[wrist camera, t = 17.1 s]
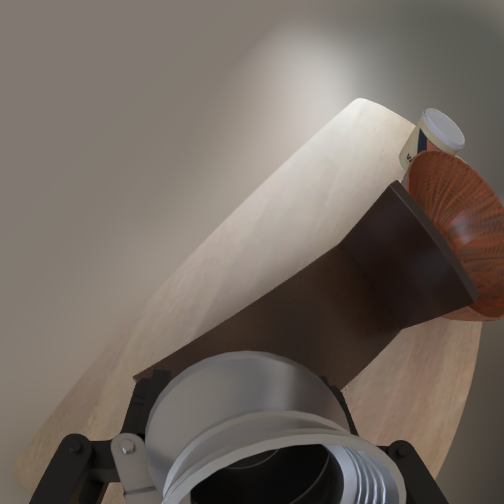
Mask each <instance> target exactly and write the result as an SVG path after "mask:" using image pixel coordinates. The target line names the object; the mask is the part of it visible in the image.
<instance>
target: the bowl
mask: <svg viewBox="0 0 504 504" xmlns="http://www.w3.org/2000/svg"><path fill="white" fill-rule="evenodd" d="M401 185H402V186H403V187H404V188H405V189H406V190H407V192H408V193H409V194H410V195H411V196H412V198H413V199H414V200H415V201H416V202H417V204H418V205H419V206H420V207H421V209H422V210H423V211H424V212H425V214H426V215H427V216H428V217H429V219H430V220H431V221H432V223H433V224H434V225H435V227H436V228H437V229H438V231H439V232H440V233H441V235H442V236H443V238H444V239H445V240H446V242H447V243H448V245H449V246H450V248H451V249H452V250H453V252H454V253H455V255H456V256H457V258H458V259H459V261H460V263H461V264H462V266H463V267H464V269H465V270H466V272H467V274H468V275H469V277H470V279H471V280H472V282H473V284H474V285H475V287H476V289H477V290H478V292H479V296H478V297H477V299H476V301H475V303H473V304H471V305H469V306H466V307H464V308H461V309H458V310H456V311H453V312H451V313H448V314H445V315H443V316H440V317H443V318H446V319H451V320H461V321H494V320H500V319H501V318H503V317H504V207H503V206H502V204H501V202H500V200H499V199H498V197H497V196H496V195H495V193H494V192H493V190H492V189H491V188H490V186H489V185H488V184H487V183H486V181H484V179H483V178H482V177H481V176H480V175H479V174H478V173H477V172H476V171H475V170H474V169H472V168H471V167H470V166H469V165H467V164H466V163H465V162H463V161H462V160H461V159H459V158H457V157H455V156H453V155H451V154H449V153H447V152H443V151H439V150H434V149H433V150H425V151H421V152H420V153H419V154H417V155H416V156H414V157H413V159H412V161H411V163H410V165H409V167H408V169H407V171H406V174H405V176H404V178H403V180H402V182H401Z"/></svg>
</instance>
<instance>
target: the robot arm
mask: <svg viewBox="0 0 504 504" xmlns="http://www.w3.org/2000/svg"><path fill="white" fill-rule="evenodd" d="M318 377H319V378H320V379H321V380H322V381H323V383H324V384H325V385H326V386H327V387H328V388H329V389H330V390H331V392H332V393H333V394H334V396H335V397H336V399H337V401H338V402H339V404H340V406H341V407H342V409H343V411H344V413H345V416H346V419H347V422H348V425H349V428H350V434H352V435H355V436H358V437H359V435H358V433H357V430H356V428H355V425H354V422H353V420H352V417H351V415H350V412H349V410H348V407H347V404H346V403H345V399H344V396H343V394H342V392H341V391H340V390H339V389H338V388H337V387H336V386H329V384H328V381H327V378H326V376H318ZM171 380H172V373H171V370H167V369H159V368H154V370H153V373H152V377H151V379H149V378H142V379H141V380H140V381H139V382H138V383H137V384H136V385H135V388H134V391H133V396H132V398H131V401H130V404H129V407H128V411H127V414H126V417H125V421H124V424H123V427H122V430H121V432H120V434H119V435H117V436H116V437H114V438H113V439H111V440H107V441H89V440H88V439H87V438H86V437H85V436H83V435H81V434H70V435H67V436H66V437H65V438H64V439H63V440H62V442H61V443H60V445H59V447H58V449H57V451H56V452H55V454H54V456H53V458H52V460H51V461H50V463H49V465H48V467H47V469H46V471H45V473H44V475H43V477H42V478H41V480H40V482H39V484H38V486H37V488H36V490H35V492H34V494H33V496H32V499H31V501H30V503H29V504H101V502H102V500H103V497H104V494H105V492H106V489H107V487H108V484H109V482H121V483H122V486H123V489H124V499H125V502H126V504H161V503H162V501H163V496H162V495H161V494H160V493H159V492H158V490H157V489H156V487H155V485H154V483H153V481H152V479H151V477H150V474H149V470H148V465H147V460H146V454H145V429H146V425H147V422H148V418H149V414H150V411H151V409H152V407H153V405H154V404H155V402H156V400H157V398H158V396H159V394H160V393H161V392H162V391H163V390H164V389H165V387H166V386H167V385H168V384H169V383H170V381H171ZM377 447H378V448H379V449H380V450H381V451H383V452H385V453H386V454H387V456H388V457H389V458H390V459H391V460H392V461H393V462H394V463H395V464H396V465H397V467H398V469H399V471H400V473H401V475H402V477H403V479H404V484H405V489H406V504H449V503H448V502H447V500H446V498H445V497H444V495H443V494H442V492H441V490H440V489H439V487H438V485H437V484H436V482H435V481H434V479H433V477H432V476H431V474H430V473H429V471H428V469H427V468H426V466H425V465H424V463H423V461H422V460H421V458H420V457H419V455H418V454H417V452H416V450H415V449H414V447H413V446H412V445H411V444H410V443H409V442H407V441H403V440H398V441H395V442H393V443H392V444H391V445H390V446H377ZM332 476H333V472H332V470H331V472H330V475H329V477H328V480H327V483H326V486H325V489H324V491H323V492H322V503H323V502H324V500H325V499H326V497H327V495H328V492H329V490H330V487H331V483H332Z"/></svg>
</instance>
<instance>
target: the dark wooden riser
mask: <svg viewBox="0 0 504 504" xmlns="http://www.w3.org/2000/svg"><path fill="white" fill-rule="evenodd" d="M478 296H479V292H478V290H477V289H476V287H475V285H474V284H473V282H472V280H471V279H470V277H469V275H468V274H467V272H466V270H465V269H464V267H463V266H462V264H461V263H460V261H459V259H458V258H457V256H456V255H455V253H454V252H453V250H452V249H451V248H450V246H449V245H448V243H447V242H446V240H445V239H444V238H443V236H442V235H441V233H440V232H439V231H438V229H437V228H436V227H435V225H434V224H433V223H432V221H431V220H430V219H429V217H428V216H427V215H426V214H425V212H424V211H423V210H422V209H421V207H420V206H419V205H418V204H417V202H416V201H415V200H414V199H413V198H412V196H411V195H410V194H409V193H408V192H407V190H406V189H405V188H404V187H403V186H402V185H401V184H400V182H399V181H398V180H396V181H394V182H393V183H391V184H390V185H389V186H388V187H387V188H386V190H385V191H384V192H383V193H382V194H381V196H380V197H379V198H378V199H377V200H376V202H375V203H374V204H373V205H372V206H371V208H370V209H369V210H368V211H367V212H366V213H365V215H364V216H363V217H362V218H361V219H360V220H359V222H358V223H357V224H356V225H355V226H354V227H353V228H352V230H351V231H350V232H349V233H348V234H347V235H346V236H345V237H344V239H343V240H342V241H341V242H340V243H339V244H338V245H336V246H335V247H333V248H332V249H331V250H329V251H328V252H326V253H325V254H324V255H322V256H321V257H319V258H318V259H317V260H315V261H314V262H312V263H311V264H309V265H308V266H307V267H305V268H304V269H302V270H301V271H299V272H298V273H296V274H295V275H294V276H292V277H291V278H289V279H288V280H286V281H285V282H283V283H282V284H280V285H279V286H277V287H276V288H274V289H273V290H271V291H270V292H269V293H267V294H266V295H264V296H263V297H261V298H259V299H258V300H256V301H255V302H253V303H252V304H250V305H249V306H247V307H246V308H244V309H243V310H241V311H240V312H238V313H237V314H235V315H233V316H232V317H230V318H229V319H227V320H226V321H224V322H223V323H221V324H219V325H218V326H216V327H215V328H213V329H212V330H210V331H208V332H207V333H205V334H204V335H202V336H200V337H199V338H197V339H195V340H194V341H192V342H191V343H189V344H187V345H186V346H184V347H182V348H181V349H179V350H177V351H176V352H174V353H173V354H171V355H169V356H168V357H166V358H164V359H162V360H161V361H159V362H157V363H156V364H154V365H152V366H151V367H149V368H147V369H146V370H144V371H142V372H140V373H139V374H137V375H135V376H133V379H134V381H135V382H136V384H137V383H138V382H139V381H140V380H141V379H142V378H149V379H151V377H152V373H153V370H154V368H159V369H167V370H171V373H172V379H174V378H175V377H176V376H178V375H179V374H180V373H181V372H183V371H184V370H185V369H186V368H188V367H190V366H192V365H194V364H196V363H198V362H200V361H202V360H204V359H206V358H209V357H212V356H216V355H219V354H223V353H227V352H237V351H258V352H268V353H272V354H275V355H279V356H283V357H286V358H288V359H291V360H293V361H295V362H297V363H299V364H301V365H303V366H305V367H306V368H307V369H309V370H310V371H311V372H313V373H314V374H315V375H317V376H326V378H327V381H328V384H329V386H336V387H337V388H338V389H339V390H341V389H342V388H344V387H345V386H346V385H347V384H348V383H349V382H350V381H351V380H352V379H354V378H355V377H356V376H357V375H358V374H359V373H360V372H361V371H362V370H363V369H364V368H365V367H366V366H367V365H368V364H369V363H370V362H371V361H372V360H373V359H374V358H375V357H376V356H377V355H378V354H379V353H380V352H381V351H382V350H383V349H384V348H385V347H386V346H387V345H388V344H389V343H390V342H391V341H392V340H393V339H394V338H395V336H396V335H397V334H398V333H399V332H400V331H401V330H402V329H404V328H407V327H410V326H413V325H417V324H420V323H423V322H426V321H428V320H431V319H434V318H437V317H440V316H443V315H445V314H448V313H451V312H453V311H456V310H458V309H461V308H464V307H466V306H469V305H471V304H473V303H475V301H476V299H477V297H478Z"/></svg>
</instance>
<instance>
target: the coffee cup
mask: <svg viewBox="0 0 504 504" xmlns="http://www.w3.org/2000/svg"><path fill="white" fill-rule="evenodd" d="M464 143H465V139H464V136H463V134H462V132H461V131H460V129H459V128H458V126H457V125H456V124H455V123H454V122H453V121H452V120H451V119H450V118H449V117H447V116H446V115H445V114H443V113H442V112H440V111H438V110H436V109H433V108H428V109H427V110H425V111H424V112H423V114H422V117H421V118H420V120H419V122H418V123H417V125H416V127H415V128H414V130H413V132H412V134H411V135H410V137H409V139H408V140H407V142H406V144H405V145H404V147H403V149H402V151H401V153H400V155H399V159H400V162H401V165H402V166H403V168H404V169H405V170H406V171H407V169H408V167H409V165H410V163H411V161H412V159H413V157H414V156H416V155H417V154H419V153H420V152H421V151H425V150H433V149H434V150H439V151H443V152H447V153H449V154H451V155H453V156H455V155H456V154H457V152H458V151H459V150H461V149H463V147H464Z"/></svg>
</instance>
